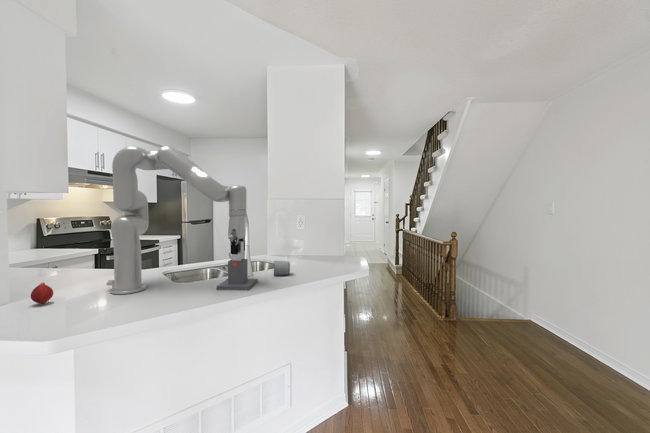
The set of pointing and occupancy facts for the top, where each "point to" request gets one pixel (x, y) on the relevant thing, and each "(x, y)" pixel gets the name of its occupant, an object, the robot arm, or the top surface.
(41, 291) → the onion
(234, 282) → the stand
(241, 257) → the column
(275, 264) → the ceramic mug
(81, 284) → the top surface
